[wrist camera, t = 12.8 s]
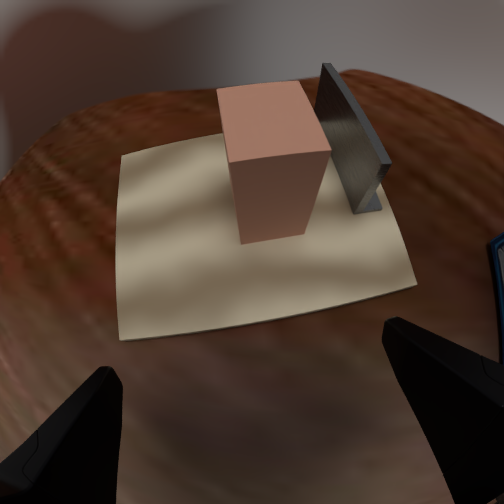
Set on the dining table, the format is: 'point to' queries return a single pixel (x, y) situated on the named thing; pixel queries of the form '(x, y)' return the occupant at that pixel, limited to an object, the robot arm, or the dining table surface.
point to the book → (499, 275)
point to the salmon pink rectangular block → (272, 158)
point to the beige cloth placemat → (237, 249)
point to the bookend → (351, 142)
